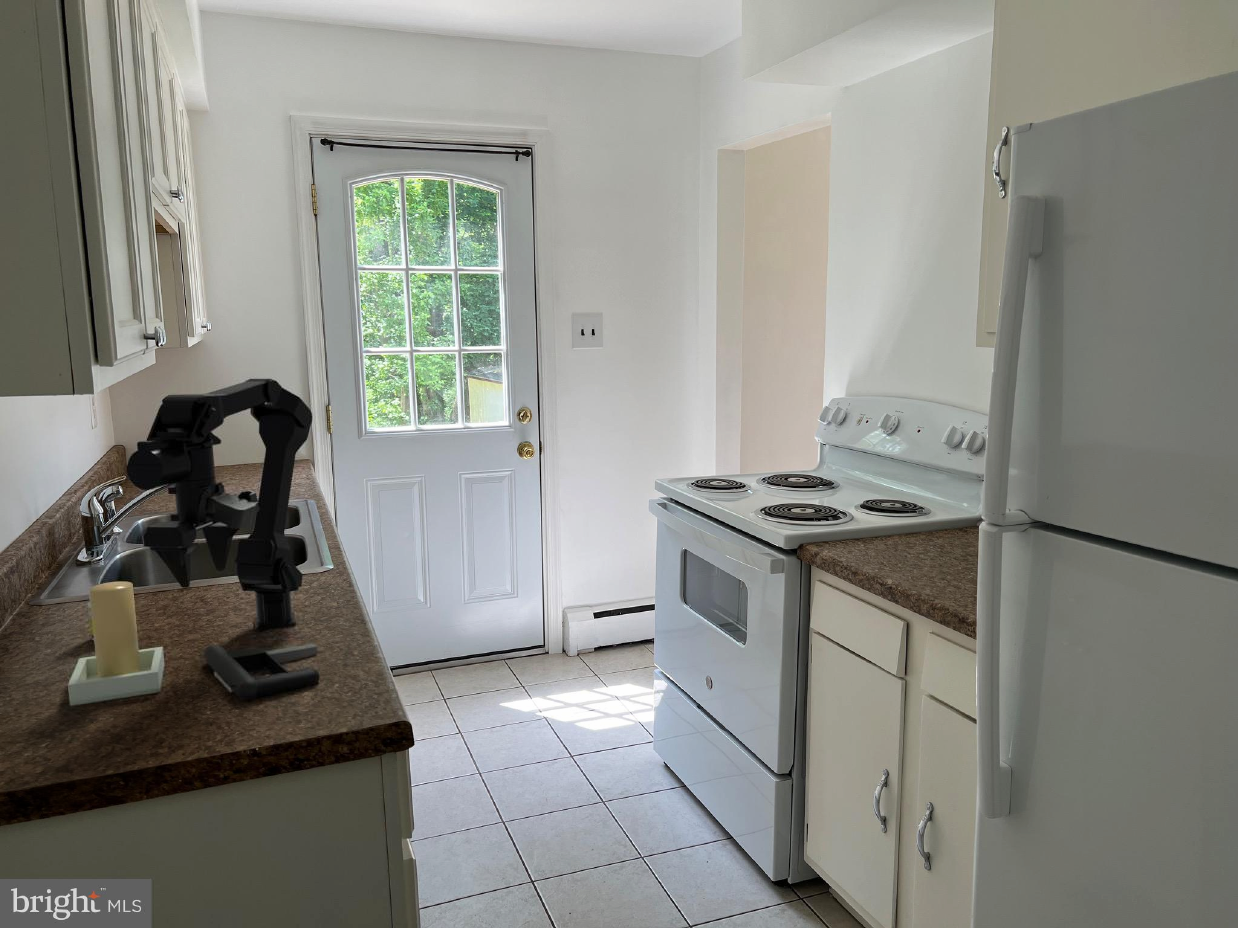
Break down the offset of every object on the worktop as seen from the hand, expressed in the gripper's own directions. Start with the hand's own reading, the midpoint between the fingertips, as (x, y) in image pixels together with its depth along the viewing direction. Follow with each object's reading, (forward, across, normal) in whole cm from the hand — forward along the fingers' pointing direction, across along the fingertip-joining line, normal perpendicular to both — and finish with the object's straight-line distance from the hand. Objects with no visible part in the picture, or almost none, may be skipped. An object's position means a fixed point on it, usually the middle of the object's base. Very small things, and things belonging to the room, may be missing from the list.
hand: (203, 578), depth 137 cm
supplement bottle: (+13, +8, +24) cm, 28 cm away
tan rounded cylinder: (+12, -10, +8) cm, 18 cm away
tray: (+13, -10, +8) cm, 18 cm away
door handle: (+14, -4, -12) cm, 18 cm away
